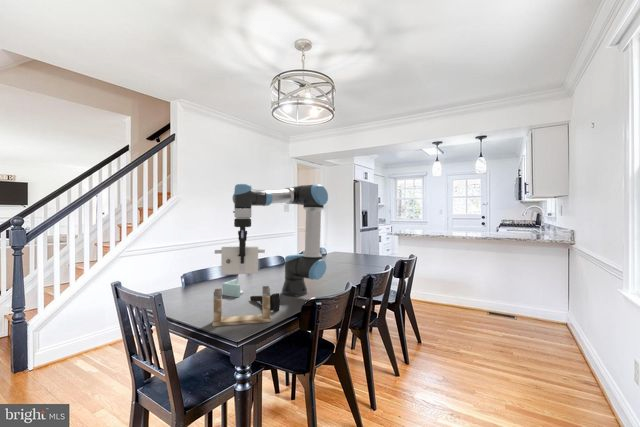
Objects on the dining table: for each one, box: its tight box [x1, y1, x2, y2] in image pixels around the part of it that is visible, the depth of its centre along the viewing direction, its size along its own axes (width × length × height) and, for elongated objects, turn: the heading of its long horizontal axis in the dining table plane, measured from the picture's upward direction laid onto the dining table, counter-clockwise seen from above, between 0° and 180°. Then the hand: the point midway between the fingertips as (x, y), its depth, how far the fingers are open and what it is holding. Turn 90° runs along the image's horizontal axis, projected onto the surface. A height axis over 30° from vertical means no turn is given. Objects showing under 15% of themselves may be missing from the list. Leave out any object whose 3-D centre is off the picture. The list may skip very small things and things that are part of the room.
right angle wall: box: [222, 278, 244, 298], centre depth 184 cm, size 12×12×8 cm
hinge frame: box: [211, 285, 272, 327], centre depth 138 cm, size 25×6×15 cm, turn 103°
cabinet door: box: [214, 245, 266, 276], centre depth 139 cm, size 22×5×12 cm, turn 102°
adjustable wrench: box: [249, 293, 281, 313], centre depth 161 cm, size 8×3×25 cm
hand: (242, 269), depth 140 cm, fingers closed on cabinet door, 3 cm apart
